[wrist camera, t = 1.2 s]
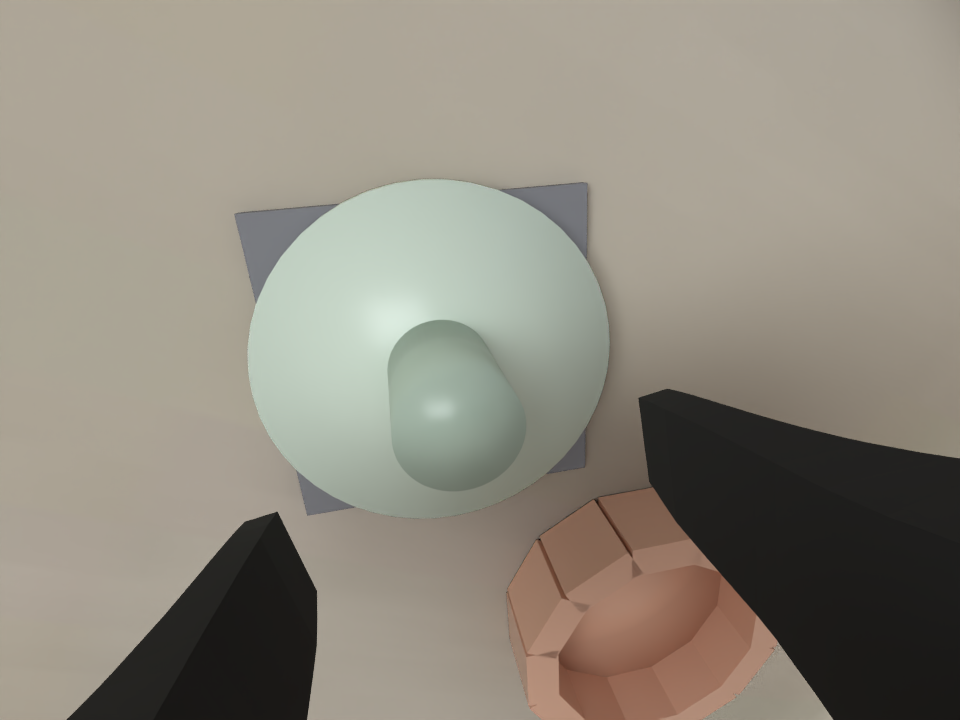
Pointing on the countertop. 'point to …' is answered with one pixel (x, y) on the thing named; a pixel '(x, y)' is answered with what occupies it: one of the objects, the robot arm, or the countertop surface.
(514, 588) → the bowl
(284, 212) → the mat
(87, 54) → the countertop surface
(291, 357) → the lid
